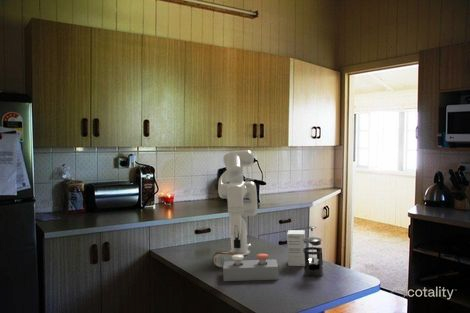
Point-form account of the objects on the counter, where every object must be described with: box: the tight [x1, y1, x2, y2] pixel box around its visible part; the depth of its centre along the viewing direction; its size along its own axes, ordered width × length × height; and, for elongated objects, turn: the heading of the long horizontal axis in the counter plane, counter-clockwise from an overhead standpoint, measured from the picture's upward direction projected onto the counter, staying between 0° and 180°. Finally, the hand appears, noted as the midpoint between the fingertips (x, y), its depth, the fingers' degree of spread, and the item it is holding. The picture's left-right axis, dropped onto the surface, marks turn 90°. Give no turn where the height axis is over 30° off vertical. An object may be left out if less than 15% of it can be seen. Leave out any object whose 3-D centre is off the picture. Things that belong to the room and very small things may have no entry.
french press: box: [303, 226, 324, 278], centre depth 188 cm, size 12×9×23 cm
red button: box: [256, 253, 269, 265], centre depth 189 cm, size 6×6×5 cm
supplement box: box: [286, 229, 307, 267], centre depth 206 cm, size 10×9×17 cm
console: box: [222, 258, 280, 282], centre depth 189 cm, size 26×12×6 cm, turn 88°
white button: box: [232, 255, 245, 266], centre depth 189 cm, size 6×6×5 cm
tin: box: [212, 250, 238, 269], centre depth 204 cm, size 15×3×8 cm, turn 71°
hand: (237, 247), depth 188 cm, fingers closed
